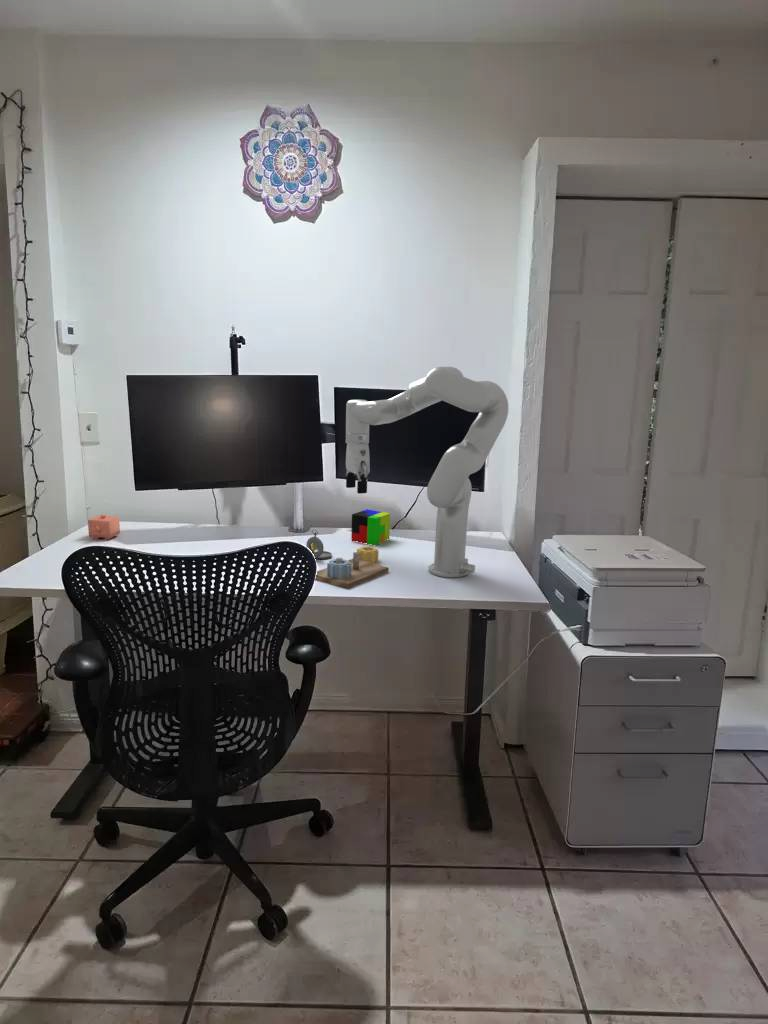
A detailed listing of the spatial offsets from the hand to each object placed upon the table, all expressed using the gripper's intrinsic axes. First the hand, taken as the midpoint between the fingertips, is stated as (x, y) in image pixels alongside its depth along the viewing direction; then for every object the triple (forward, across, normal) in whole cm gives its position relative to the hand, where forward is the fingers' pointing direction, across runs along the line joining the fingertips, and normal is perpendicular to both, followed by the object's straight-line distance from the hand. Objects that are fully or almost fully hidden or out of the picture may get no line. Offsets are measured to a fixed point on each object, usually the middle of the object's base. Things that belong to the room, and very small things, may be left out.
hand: (356, 490), depth 216 cm
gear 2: (+22, -8, -1) cm, 23 cm away
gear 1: (+20, -23, +14) cm, 34 cm away
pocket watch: (+22, 0, +13) cm, 25 cm away
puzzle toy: (+22, +14, -12) cm, 28 cm away
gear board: (+22, -20, +10) cm, 31 cm away
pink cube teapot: (+22, +46, +76) cm, 92 cm away
